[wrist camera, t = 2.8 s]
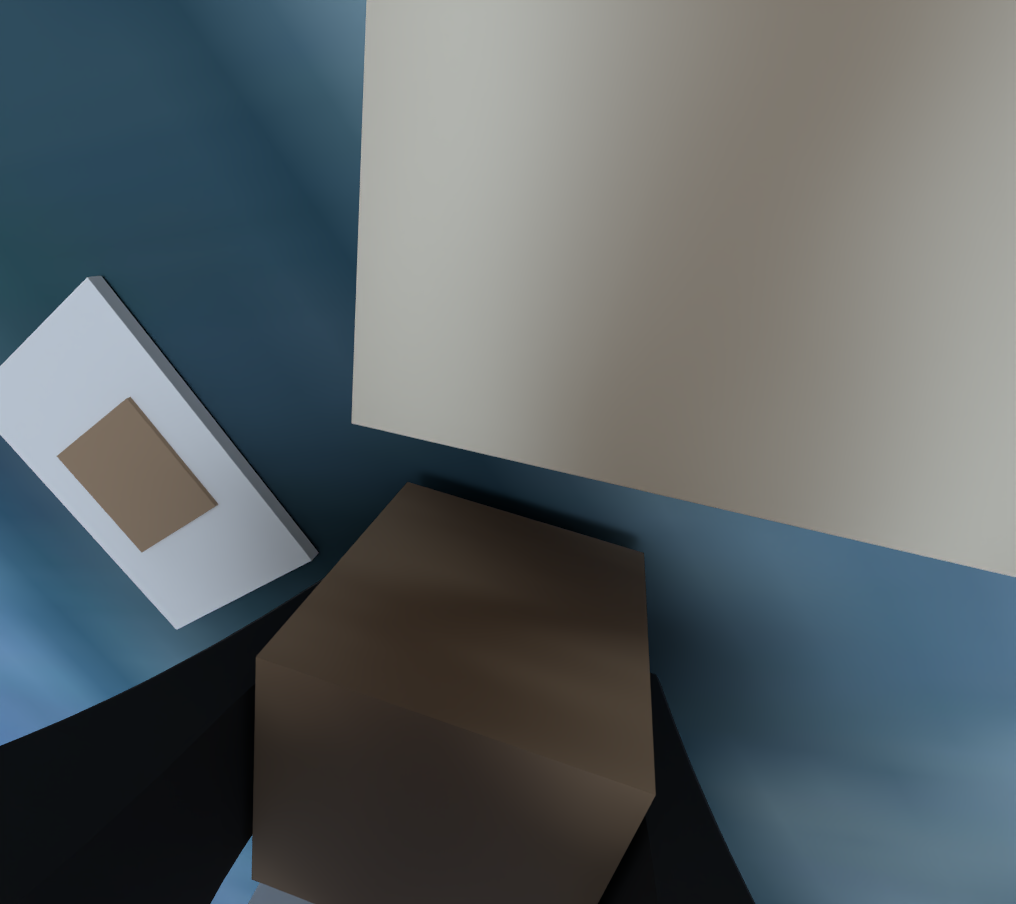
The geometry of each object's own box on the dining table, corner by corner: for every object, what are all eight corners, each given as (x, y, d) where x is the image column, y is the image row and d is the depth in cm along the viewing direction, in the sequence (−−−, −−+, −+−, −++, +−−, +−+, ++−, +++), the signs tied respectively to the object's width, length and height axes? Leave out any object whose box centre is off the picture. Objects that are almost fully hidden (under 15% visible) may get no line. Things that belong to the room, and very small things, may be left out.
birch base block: (1208, -199, 6) (1907, -708, 3) (881, 455, 9) (1015, 577, 6) (500, -250, 7) (391, -663, 4) (437, 360, 10) (351, 423, 7)
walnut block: (643, 552, 10) (655, 794, 5) (576, 722, 11) (548, 994, 7) (407, 481, 10) (256, 656, 6) (380, 656, 12) (251, 879, 8)
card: (318, 552, 12) (309, 562, 12) (185, 621, 14) (173, 632, 14) (101, 275, 10) (82, 277, 10) (-18, 395, 12) (-37, 400, 12)
